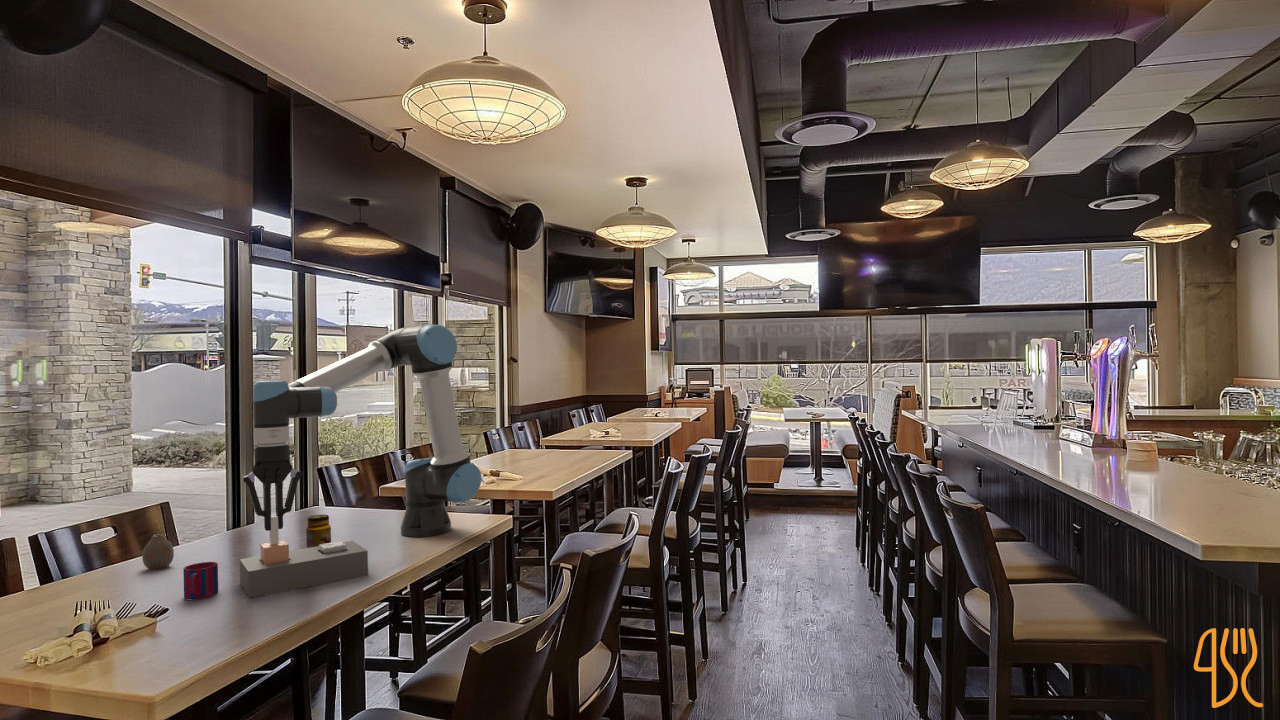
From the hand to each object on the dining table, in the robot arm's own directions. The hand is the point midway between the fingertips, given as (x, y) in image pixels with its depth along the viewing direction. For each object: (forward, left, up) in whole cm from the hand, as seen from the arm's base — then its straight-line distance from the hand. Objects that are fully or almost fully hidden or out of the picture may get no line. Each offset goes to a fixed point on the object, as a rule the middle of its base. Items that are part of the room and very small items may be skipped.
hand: (274, 543), depth 167 cm
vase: (+21, -40, -10) cm, 46 cm away
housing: (-7, 0, -10) cm, 12 cm away
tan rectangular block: (0, 0, -6) cm, 6 cm away
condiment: (-13, -17, -10) cm, 23 cm away
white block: (-13, 0, -9) cm, 16 cm away
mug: (+15, -2, -10) cm, 19 cm away
